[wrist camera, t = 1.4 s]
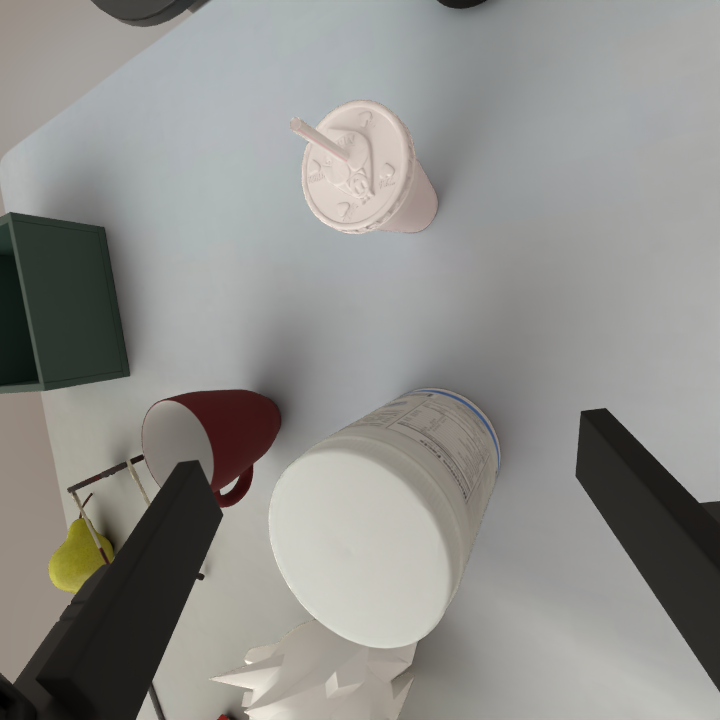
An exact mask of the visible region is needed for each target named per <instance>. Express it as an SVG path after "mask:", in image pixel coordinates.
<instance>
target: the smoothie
mask: <svg viewBox="0 0 720 720" xmlns="http://www.w3.org/2000/svg"><path fill="white" fill-rule="evenodd" d="M290 129H291V130H292V131H293V132H295V133H297V134H298V135H300V136H301V137H303V138H304V139H306V140H308V143H307V146H306V149H305V152H304V156H303V161H302V171H301V178H302V187H303V192H304V195H305V198H306V201H307V203H308V205H309V207H310V209H311V210H312V212H313V213H314V214H315V215H316V217H317V218H318V219H320V220H321V221H322V222H323V223H325V224H326V225H328V226H330V227H332V228H334V229H336V230H339V231H341V232H344V233H349V234H361V233H365V232H369V231H373V230H381V231H393V232H405V233H415V232H419V231H421V230H423V229H424V228H426V227H427V226H428V225H429V224H430V223H431V222H432V220H433V219H434V217H435V215H436V212H437V207H438V199H437V195H436V192H435V190H434V189H433V187H432V185H431V183H430V181H429V180H428V178H427V176H426V174H425V172H424V171H423V169H422V167H421V165H420V163H419V162H418V160H417V158H416V156H415V150H414V143H413V141H412V138H411V136H410V133H409V131H408V128H407V127H406V126H405V125H404V123H403V122H402V121H401V120H400V118H399V117H398V116H397V115H395V114H394V113H393V112H392V111H390V110H389V109H388V108H387V107H385V106H384V105H382V104H380V103H377V102H374V101H370V100H355V101H351V102H347V103H345V104H342V105H340V106H338V107H337V108H335V109H334V110H332V111H331V112H330V113H328V114H327V115H326V116H325V117H324V118H323V119H322V120H321V122H320V123H319V124H318V125H317V127H316V128H315V129H314V128H312V127H311V126H310V125H308V124H307V123H305V122H304V121H302V120H301V119H300V118H298V117H294V118H293V119H292V120H291V122H290Z"/></svg>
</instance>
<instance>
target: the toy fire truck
mask: <svg viewBox="0 0 720 720" xmlns="http://www.w3.org/2000/svg"><path fill="white" fill-rule="evenodd" d="M217 720H230V719H229V718H228V717H226V716H225V715H223V714H222V715H221V716H220V717H219V718H218V719H217Z"/></svg>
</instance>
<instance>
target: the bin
mask: <svg viewBox="0 0 720 720" xmlns="http://www.w3.org/2000/svg"><path fill="white" fill-rule="evenodd" d="M128 376H130V373H129V368H128V362H127V356H126V350H125V345H124V339H123V333H122V328H121V322H120V316H119V310H118V305H117V299H116V293H115V287H114V282H113V276H112V270H111V265H110V259H109V253H108V247H107V242H106V236H105V230H104V227H100V226H94V225H87V224H81V223H75V222H69V221H63V220H56V219H50V218H44V217H38V216H32V215H25V214H19V213H13V212H9V213H7V214H6V215H4V216H2V217H0V393H18V392H35V391H48V390H53V389H59V388H65V387H71V386H76V385H82V384H88V383H94V382H99V381H105V380H111V379H117V378H122V377H128Z"/></svg>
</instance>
